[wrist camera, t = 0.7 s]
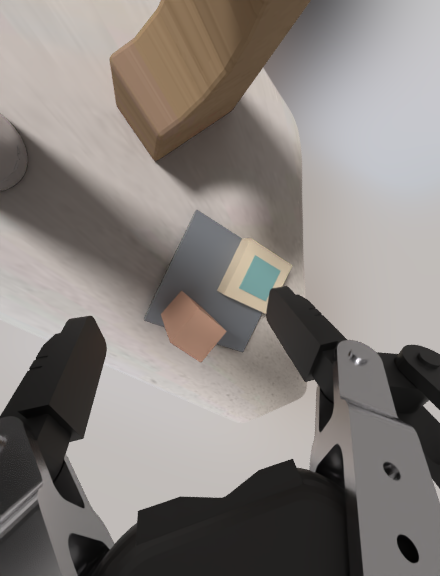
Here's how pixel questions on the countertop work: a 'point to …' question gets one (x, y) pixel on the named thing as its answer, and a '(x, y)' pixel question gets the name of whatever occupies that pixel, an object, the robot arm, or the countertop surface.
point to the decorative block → (195, 64)
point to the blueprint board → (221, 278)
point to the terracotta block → (191, 327)
